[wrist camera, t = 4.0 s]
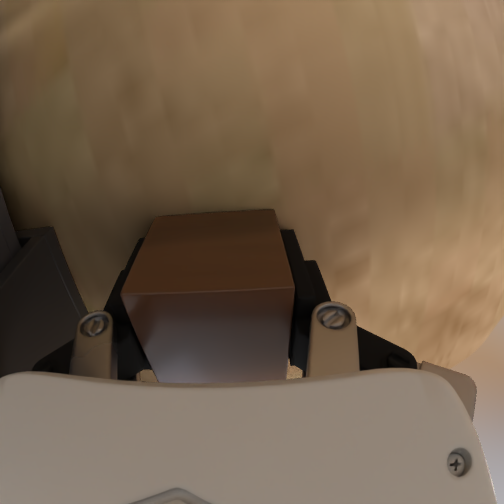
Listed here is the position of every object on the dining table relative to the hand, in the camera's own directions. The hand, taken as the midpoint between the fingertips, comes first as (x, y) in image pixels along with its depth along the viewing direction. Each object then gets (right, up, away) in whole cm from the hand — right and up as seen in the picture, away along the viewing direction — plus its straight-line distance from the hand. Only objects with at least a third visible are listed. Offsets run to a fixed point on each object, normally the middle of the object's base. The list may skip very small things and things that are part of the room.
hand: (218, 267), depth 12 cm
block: (0, 0, 0) cm, 0 cm away
